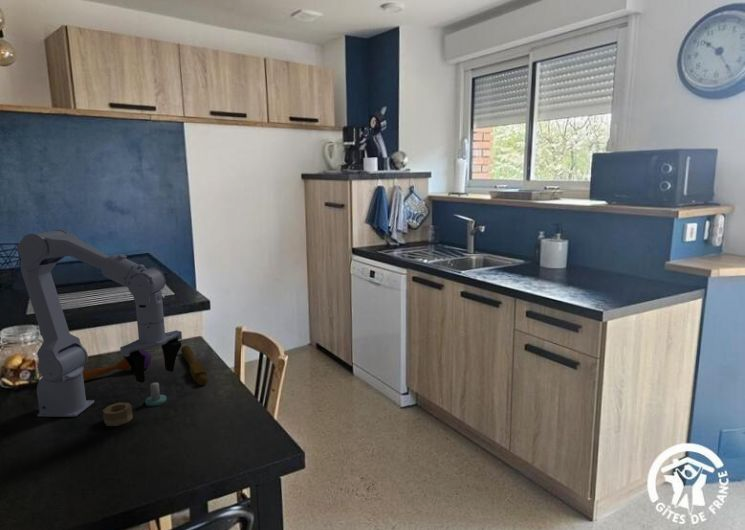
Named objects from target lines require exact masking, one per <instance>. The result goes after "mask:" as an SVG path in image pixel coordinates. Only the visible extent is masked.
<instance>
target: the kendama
mask: <svg viewBox="0 0 745 530" xmlns="http://www.w3.org/2000/svg"><path fill="white" fill-rule="evenodd" d="M139 352H140V353H141V355H143V356H146V357H145V361H144V370H145V369H147V368H148V367H149V366H150V365H151V362H152V356H151V353H149V352H148V351H146V350H142V351H139ZM114 370H122V371H123V370H124V371H131V366H130V365H129V363H128V362H127V361H126V359H125V358H124V357H123V359H121V360H119V362H118V363H116V364H115V365H110V366H104V367H100V368H99V367H98V368H93V369H87V370H83V371H82V372H83V380H84V382H86V381H88V380H92V379H94V378H98V376H101V375H104V374H107V373H110V372H112V371H114Z"/></svg>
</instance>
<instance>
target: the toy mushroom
mask: <svg viewBox="0 0 745 530" xmlns="http://www.w3.org/2000/svg"><path fill="white" fill-rule="evenodd" d="M149 387H150V396H148V397H146V398H145V399H144V403H145V406H147V407H159V406H160V405H164V404H165V403H166V402H167V400H168V399H167V398H168V397H167V395H165V394H160V393H161V392H160V383H159V382H153V383H150V384H149Z"/></svg>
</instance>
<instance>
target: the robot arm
mask: <svg viewBox="0 0 745 530" xmlns="http://www.w3.org/2000/svg"><path fill="white" fill-rule="evenodd" d="M16 248H17V252H18V254H19V258H20V273H21V275H22V278H23V282H24V284H25V287H26V291H27V294H28V297H29V300H30V303H31V307H32V310H33V313H34V315H35V319H36V322H37V324H38V328H39V331H40V334H41V337H42V340H43V342H42V344H41V345H40V347H39V349H38V350H37V352H36V355H37V358H38V363H37V369H38V373H39V375H40V376H41V378H40V379H39V381H38V383H37V386H36V397H37V401H38V402H37V403H38V410H39V413H37V417H44V418H45V417H49V418H50V417H52V418H53V417H56V418H57V417H58V418H59V417H60V418H62V417H64V418H65V417H66V418H68V417H69V418H74V417H77V416H79V415H80V414H81V413H83V411H85V410H86V409H87V408H89V407H90V406H91V405H94V403H95V400H93V399H92V400H91V399H90V400H87V398H86V397H87V396H86V387H85V381H84V380H83V372H82V371H85V368H84V367H85V365H86V364H87V362H88V360H89V355H88V352H87V350H86V348H85V347H84V346H83V344H82V343H81V340H80V338H79V337H77V336H76V335H74V334H72V333H70V329H69V327H68V323H67V321H66V316H65V313H64V311H63V308H62V305H61V301H60V298H59V295H58V291H57V288H56V285H55V283H54V279H53V276H52V271H53V269H54V268H55V267H56V265H57V264H58V263H59V262H61V260H63V259H64V258H65V257H70V258H73V259H76V260H78V261H80V262H82V263H85V264H88V265H90V266H92V267H95V268H97V269H100V270H101V273H102V276H104V277H105V278H107V279H109V280H111V281H113V282H115V283H117V284H118V285H122V286H124V287H125V288H128V291H129V292H130V294H131V295H132V296H133V302H134V303H135V313H136V324H137V333H138V337H137V338H138V339H136V340H133V342H130V343H127V344H126V345H123V346H120V347H119V351H120V356H123V359H124V358H125V359H126V361H127V362H128V363H129V365H130V369H131V370H132V372H133V374H134V377H135V379H136V382H137V383H141V384H143V383H145V377H146V376H145V369H144V361H145V357H146V356H143V355H141V353H140V352H139V351H142V350H145V351H146V350H148V349H152V348H155V347H158V346H159V347H160V346H161V350H162V354H163V360H164V368H165V371H166V372H167V371H168V372H170V373H172V372H174V370H175V369H174V368H175V363H176V360H177V356H178V353H179V351H180V350H181V348H182V341H180V340H183V336H182V331H181V330H173V331H168V332H166V329H165V328H166V327H165V316H164V303H163V291H162V290H163V289H164V288H165V287H166V283H167V280H166V276H165V274H164V273H163V272H162V271H161V270H159V269H158V268H157V267H155V266H154V267H149V268H146V267H145V265H144V264H142V263H140V264H138V263H136V262H134V261H132V260H130V259H127V258H128V256H127V255H125V254H121V253H120V254H113V255H111V256H110V255H108V254H106V253H105V252H102V251H101V250H99V249H97V248H96V247H93V246H91V245H90V244H88V243H86V242H84V241H83V240H80V239H79V238H78V237H77V235H76V234H74V233H71V232H68V231H67V230H64V229H56V230H52V231H45V232H38V233H28V234H26V235H24V236H23V237H22V238H21V240H20V241H19V243H18V244H17V246H16Z"/></svg>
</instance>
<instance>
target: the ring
mask: <svg viewBox="0 0 745 530" xmlns="http://www.w3.org/2000/svg"><path fill="white" fill-rule="evenodd" d="M102 416H103V422H104V424H105V425H106V427H118V426H121V425H124V424H127V423H129V422H130V421H131V420H132V419H133V417H134V416H133V407H132V405H131V404H130V403H129V402H116V403H113V404H110V405H108V406H106V407H105V408H103V410H102Z"/></svg>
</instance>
